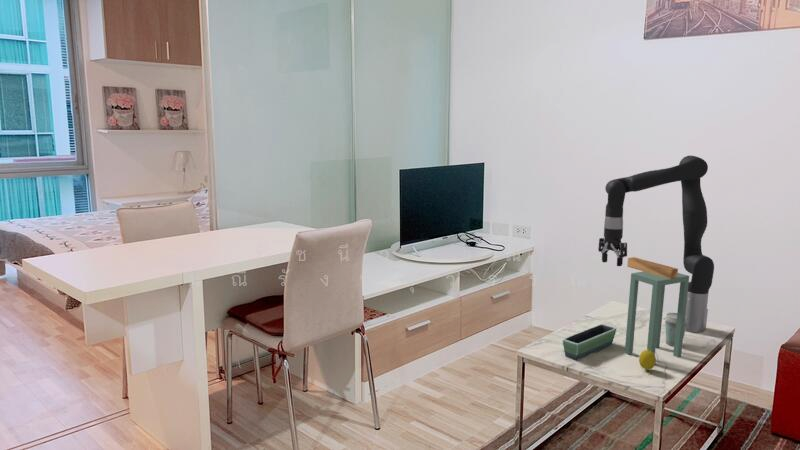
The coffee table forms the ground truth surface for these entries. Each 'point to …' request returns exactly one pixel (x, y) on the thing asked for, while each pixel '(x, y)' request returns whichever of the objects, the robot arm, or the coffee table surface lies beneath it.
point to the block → (652, 268)
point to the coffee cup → (672, 327)
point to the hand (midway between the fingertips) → (611, 264)
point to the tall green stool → (656, 310)
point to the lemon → (647, 359)
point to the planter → (588, 341)
